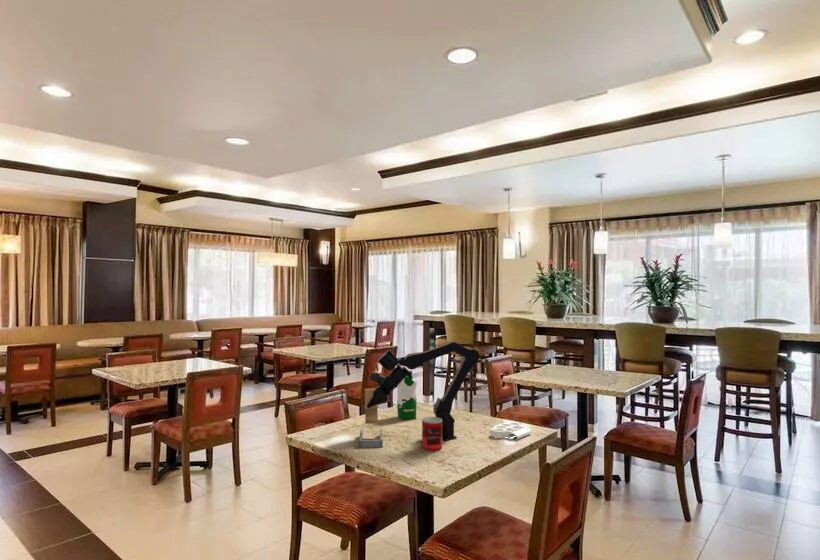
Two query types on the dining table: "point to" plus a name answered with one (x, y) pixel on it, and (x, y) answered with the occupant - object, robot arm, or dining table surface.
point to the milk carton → (407, 399)
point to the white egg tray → (510, 430)
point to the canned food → (432, 433)
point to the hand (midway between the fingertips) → (367, 405)
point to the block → (371, 412)
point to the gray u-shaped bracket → (370, 441)
